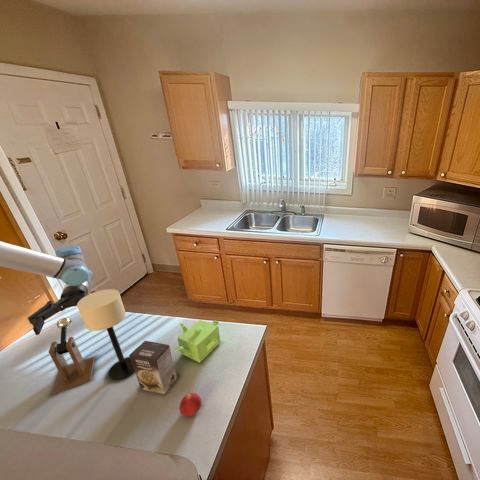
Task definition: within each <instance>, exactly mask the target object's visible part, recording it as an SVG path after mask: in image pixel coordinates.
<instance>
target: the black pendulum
mask: <svg viewBox="0 0 480 480" xmlns="http://www.w3.org/2000/svg"><path fill="white" fill-rule="evenodd" d="M72 324H73V322H72V320H71V318H69V317H63V318H60V319H58V321H57V322H56V327H57V328H58V329H59V330H60V342H59V343H57V353H58V354H59V355H61V354H63V355H64V354H68V353H69V352H68V350H67V348H66V345H67V342H68V341H67V335H68V333H67V331H68V328H69V327H71V325H72Z"/></svg>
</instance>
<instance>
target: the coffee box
mask: <svg viewBox="0 0 480 480" xmlns="http://www.w3.org/2000/svg"><path fill="white" fill-rule="evenodd" d="M128 357H130V359H131V362H132V365H133V368H134V371H135V372H134V373H135V377H136V379H137V382H138V385H139V387H140V389H141V390H144V391H149V392H153V393H158V394H163V395H165V394H166V393H167V392H168V390H169V389H170V388H171V387H172V386H173V384H174V383H175V382H176V380H177V378H178V376H177V371H176V368H175V367H176V366H175V363H174V359H173V355H172V351H171V346H170V345H169V344H166V343H161V342H156V341H155V342H154V341H151V340H150V341H149V340H144V341H143V342H142V343H140V344H139V345H138V346H137V347H136V348H134V349H133V351H132V352H131V353H130V354H129V356H128Z"/></svg>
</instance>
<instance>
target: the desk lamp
mask: <svg viewBox="0 0 480 480" xmlns="http://www.w3.org/2000/svg"><path fill="white" fill-rule="evenodd" d="M88 294H89V295H88ZM88 294H87V296H85V297H83V298H82V299H81V300H80V301H79V302H78V303H77V306H76V307H77V310H78V312H79V314H80V316H81V319H82V321H83V323H84V327H85V328H86V330H88V331H92V332H98V331H104V330H106V331H107V334H108V336H109V340H110V341H111V342H110V343H111V345H112V347H113V350H114V353H115V355H116V358H117V360H118V361H116V362H115V363H114V364H113V365H112V366H111V367H110V368H109V370H108V372H107V376H108V378H109V379H110V380H112V381H120V380H124V379H126V378H129V377H130V376H132V375H133V374H134V373H135V371H134V368H133V365H132V362H131V359H130V356H128V357H125V356H124V353H123V351H122V348H121V345H120V342H119V340H118V337H117V335H116V331H115V329H114V327H115V326H116V325H118V324H120V323H121V322H122V321H123V320H124V319H125V318H126V315H127V311H126V310H125V305H124V303H123V300H122V296H121V294H120V291H118V290H117V289H113V288H112V289H111V288H110V289H101V290H98V291H97V290H96V291H95V292H94V293H91V292H90V293H88Z"/></svg>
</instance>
